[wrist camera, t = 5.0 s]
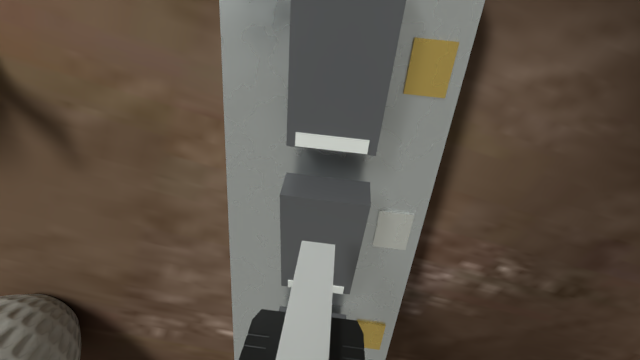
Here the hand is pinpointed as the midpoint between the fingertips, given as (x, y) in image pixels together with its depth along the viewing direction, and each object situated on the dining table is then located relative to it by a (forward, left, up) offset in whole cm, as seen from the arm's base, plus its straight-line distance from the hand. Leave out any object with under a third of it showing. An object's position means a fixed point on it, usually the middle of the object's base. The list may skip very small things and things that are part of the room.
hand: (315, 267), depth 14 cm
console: (+3, 0, -13) cm, 13 cm away
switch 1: (-8, 0, -6) cm, 10 cm away
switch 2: (+3, 0, -6) cm, 6 cm away
